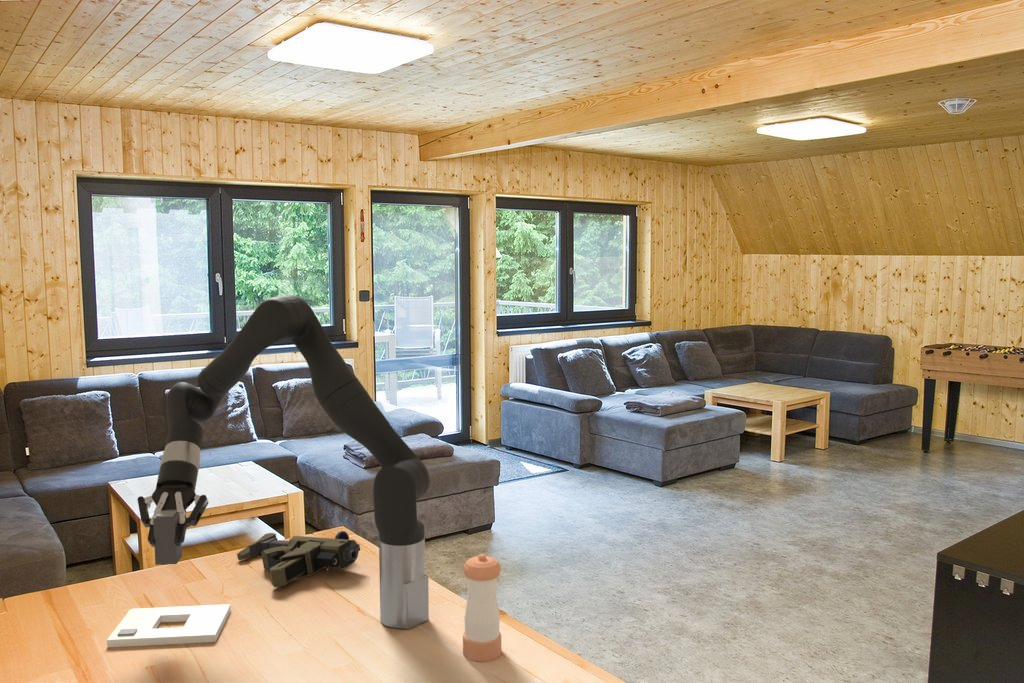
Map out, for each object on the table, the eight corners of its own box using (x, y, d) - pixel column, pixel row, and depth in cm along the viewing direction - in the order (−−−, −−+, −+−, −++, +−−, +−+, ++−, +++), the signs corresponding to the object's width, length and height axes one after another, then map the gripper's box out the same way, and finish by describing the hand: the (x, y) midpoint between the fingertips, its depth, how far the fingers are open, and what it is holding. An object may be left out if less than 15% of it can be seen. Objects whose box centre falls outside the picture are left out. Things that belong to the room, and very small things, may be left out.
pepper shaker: (476, 640, 164) (476, 545, 162) (508, 649, 160) (508, 552, 158) (455, 655, 158) (454, 557, 156) (488, 665, 154) (488, 564, 152)
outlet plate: (230, 610, 177) (230, 602, 177) (215, 642, 163) (215, 632, 163) (131, 615, 174) (130, 606, 174) (107, 647, 161) (106, 638, 160)
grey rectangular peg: (181, 556, 169) (180, 509, 168) (176, 564, 166) (174, 515, 164) (161, 557, 169) (159, 510, 168) (155, 564, 165) (153, 516, 164)
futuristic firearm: (306, 570, 181) (376, 528, 203) (204, 560, 196) (279, 522, 218) (311, 602, 182) (380, 557, 204) (209, 589, 197) (284, 548, 219)
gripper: (139, 459, 172) (121, 537, 161) (211, 457, 173) (198, 535, 163) (148, 477, 177) (132, 554, 167) (218, 476, 179) (206, 551, 169)
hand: (165, 544), depth 165 cm, fingers closed on grey rectangular peg, 4 cm apart
